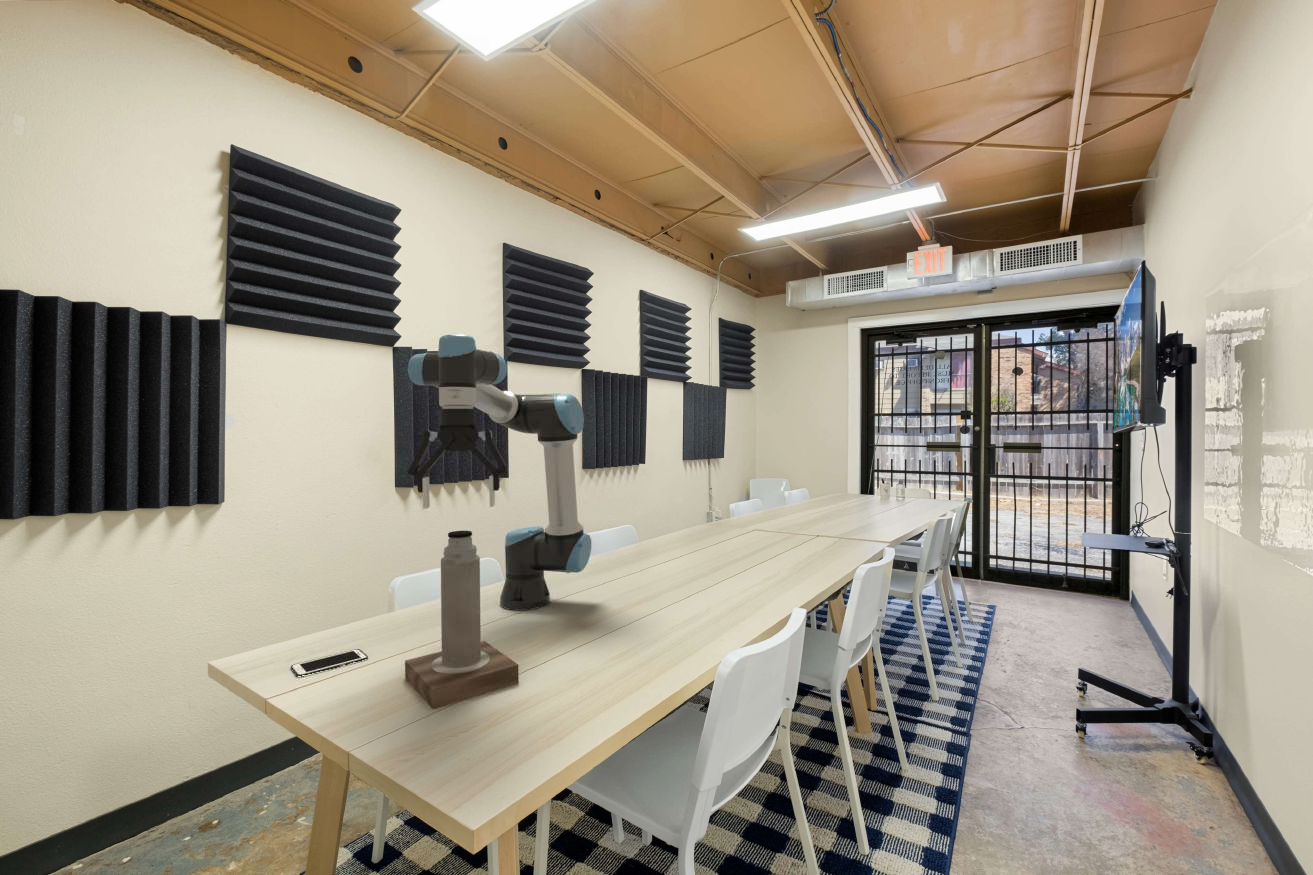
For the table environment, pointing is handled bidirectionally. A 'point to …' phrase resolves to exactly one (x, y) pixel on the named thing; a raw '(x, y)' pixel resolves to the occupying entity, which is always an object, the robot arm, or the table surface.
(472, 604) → the thermos bottle
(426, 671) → the walnut riser
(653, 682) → the table surface
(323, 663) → the cell phone
